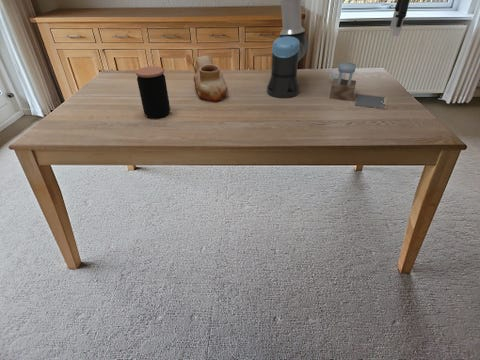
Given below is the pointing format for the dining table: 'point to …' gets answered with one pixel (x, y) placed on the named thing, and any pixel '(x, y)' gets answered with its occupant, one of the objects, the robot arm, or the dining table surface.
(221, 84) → the ceramic vessel
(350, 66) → the stool
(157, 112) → the coffee jar
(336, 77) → the geometric ball
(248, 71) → the dining table surface
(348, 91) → the pedestal
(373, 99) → the mat
